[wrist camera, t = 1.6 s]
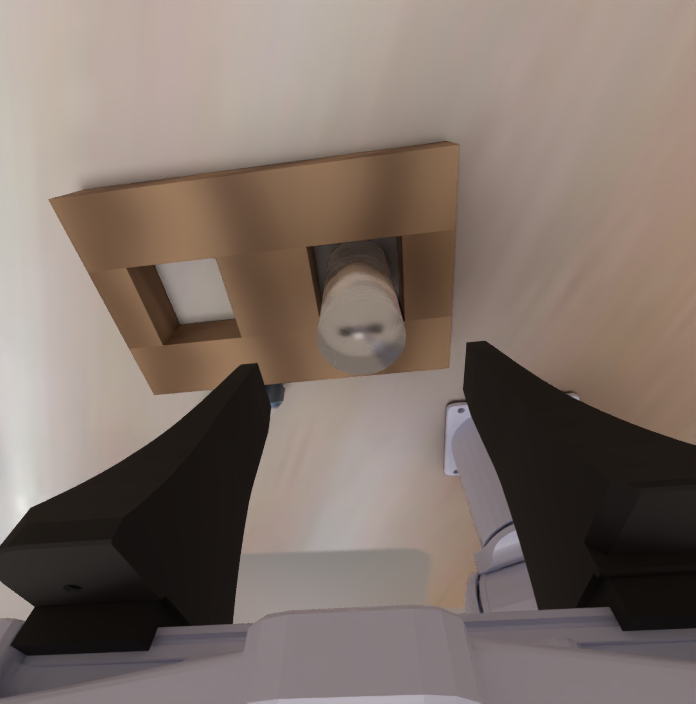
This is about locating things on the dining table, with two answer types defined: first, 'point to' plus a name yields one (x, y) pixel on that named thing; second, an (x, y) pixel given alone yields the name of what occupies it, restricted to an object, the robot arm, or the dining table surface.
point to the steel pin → (360, 311)
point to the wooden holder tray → (269, 259)
